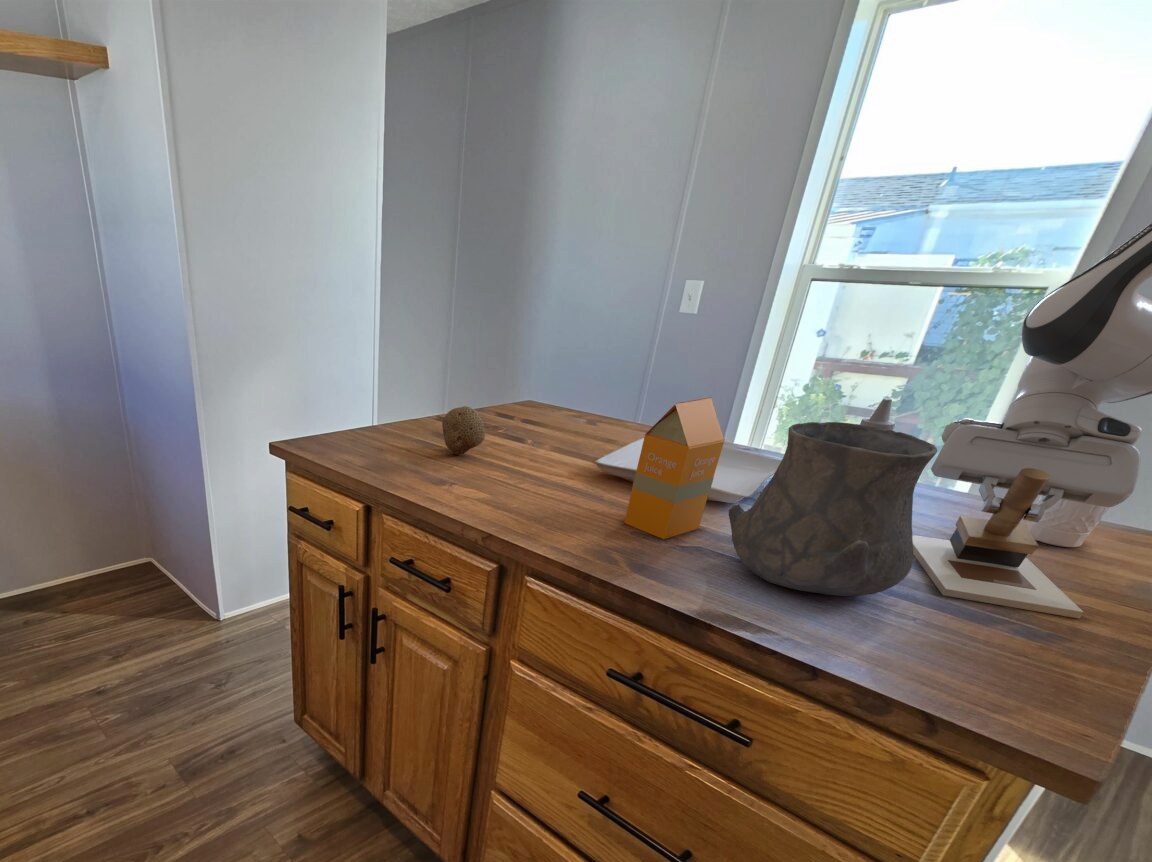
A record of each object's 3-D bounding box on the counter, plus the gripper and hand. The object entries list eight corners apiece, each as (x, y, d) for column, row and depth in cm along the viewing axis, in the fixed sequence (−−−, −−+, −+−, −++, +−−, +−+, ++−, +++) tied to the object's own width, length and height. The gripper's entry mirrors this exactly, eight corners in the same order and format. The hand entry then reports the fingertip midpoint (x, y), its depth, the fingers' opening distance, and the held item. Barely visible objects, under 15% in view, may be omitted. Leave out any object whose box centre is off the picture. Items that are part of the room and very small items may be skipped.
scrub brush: (1010, 547, 95) (1065, 467, 87) (1021, 569, 92) (1080, 487, 83) (946, 538, 98) (993, 460, 90) (954, 559, 94) (1005, 479, 86)
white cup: (1082, 553, 99) (1121, 491, 94) (1013, 536, 104) (1047, 476, 99) (1090, 540, 103) (1128, 480, 98) (1024, 525, 108) (1057, 466, 104)
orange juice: (699, 528, 105) (737, 402, 95) (664, 539, 101) (699, 408, 91) (657, 512, 111) (689, 392, 101) (622, 522, 107) (652, 397, 97)
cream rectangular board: (1015, 556, 98) (1019, 550, 97) (1079, 618, 82) (1084, 611, 81) (902, 539, 103) (905, 533, 102) (942, 595, 87) (946, 588, 86)
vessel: (753, 531, 104) (797, 404, 95) (919, 585, 89) (992, 440, 79) (680, 566, 93) (721, 426, 83) (856, 635, 78) (932, 472, 68)
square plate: (646, 449, 144) (651, 431, 142) (785, 479, 127) (792, 459, 125) (589, 477, 127) (593, 457, 125) (740, 515, 110) (748, 493, 108)
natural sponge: (483, 450, 142) (488, 403, 137) (482, 462, 134) (488, 413, 129) (441, 447, 143) (445, 400, 138) (438, 459, 135) (442, 410, 130)
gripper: (956, 404, 94) (923, 486, 93) (1160, 430, 83) (1127, 524, 82) (942, 428, 100) (910, 506, 98) (1133, 456, 89) (1100, 545, 87)
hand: (1010, 515), depth 90 cm, fingers closed on scrub brush, 3 cm apart
